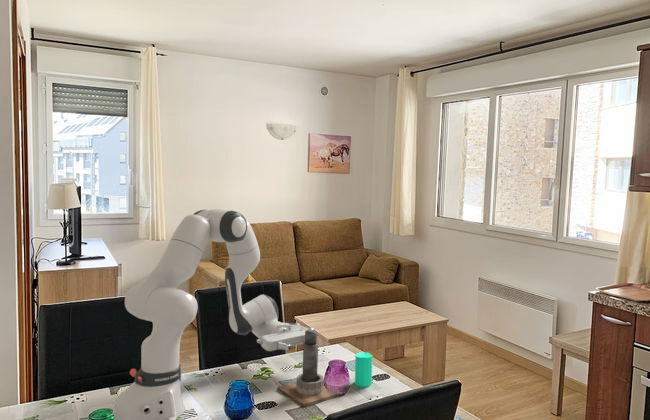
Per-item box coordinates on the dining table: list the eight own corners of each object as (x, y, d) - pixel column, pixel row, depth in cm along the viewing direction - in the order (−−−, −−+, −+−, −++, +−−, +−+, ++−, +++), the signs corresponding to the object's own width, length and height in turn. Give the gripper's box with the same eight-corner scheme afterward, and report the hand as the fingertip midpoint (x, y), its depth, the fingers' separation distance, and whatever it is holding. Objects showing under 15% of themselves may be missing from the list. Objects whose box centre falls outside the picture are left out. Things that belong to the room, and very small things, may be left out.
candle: (372, 387, 176) (373, 353, 175) (355, 386, 176) (355, 353, 175) (371, 380, 182) (372, 348, 181) (354, 379, 182) (355, 347, 181)
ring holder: (304, 407, 159) (304, 392, 159) (277, 389, 172) (277, 375, 172) (342, 394, 169) (343, 380, 169) (314, 379, 182) (314, 365, 182)
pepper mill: (308, 393, 167) (309, 331, 166) (299, 388, 171) (300, 327, 170) (319, 390, 170) (321, 328, 169) (311, 385, 174) (312, 324, 173)
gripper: (254, 331, 179) (275, 342, 168) (301, 322, 191) (323, 331, 180) (254, 348, 179) (274, 360, 168) (301, 338, 192) (323, 348, 181)
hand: (300, 345), depth 175 cm, fingers open, 8 cm apart
